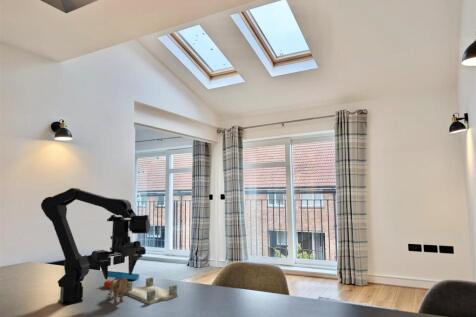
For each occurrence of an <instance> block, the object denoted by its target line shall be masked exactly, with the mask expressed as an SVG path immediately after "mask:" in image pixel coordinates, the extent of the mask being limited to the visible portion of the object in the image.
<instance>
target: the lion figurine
mask: <svg viewBox="0 0 476 317" xmlns="http://www.w3.org/2000/svg"><path fill="white" fill-rule="evenodd" d="M111 281H112V280H111ZM130 282H131V281H129V280H128V279H127V278H121V279H119V280H114V279H113V281H112V282H111V283H110V289H109V293H108V294H107V295H108V298H107V301H111V300H112V293H113V304H112V305H118V301H117V299H118V298H117V297H118V296H120V298H119V302H120V303H124V302H125V301H124V299H123V297H124V295H125V294H124V292H126V290H127V288H128V289H129V288H130V286H131V283H130Z"/></svg>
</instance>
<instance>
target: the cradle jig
mask: <svg viewBox="0 0 476 317" xmlns="http://www.w3.org/2000/svg"><path fill="white" fill-rule="evenodd" d="M129 282H130V283H131V286H130V288H129V289H128V288H127V290H126V292H124V294H123V295H127V296H129V297H131V298H134V299H135V300H136V299H137V300H138V301H141V302H144V303H146V304H148V305H152V304H154V303H158V302H162V301H163V302H164V301H166V300H170V299H173V298H177V297H178V285H177V284H171V285H168V289H165V288H163V287H159V286H156V285H154V277H152V276H151V277H146V278H145V285H141V286H139V287H133V282H132V281H129Z"/></svg>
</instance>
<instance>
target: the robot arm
mask: <svg viewBox="0 0 476 317" xmlns="http://www.w3.org/2000/svg"><path fill="white" fill-rule="evenodd" d="M75 201H80V202H83V203H87V204H90V205H94V206H96V207H101V208H103V209H105V210H106V211H107V212H110V213H112V214H111V215H110V217H108V218H107V219H106V221H107V222H112V230H111V232H112V233H111V236H110V240H111V247H109V251H108V250H105V249H98V250H93V251H91V254H90V260H93V261H94V262H96V263H98V265H99V267H100V269H101V272H102V274H103V277H104V279H105V280H108V279H109V277H108V271H109V264H110V260H108V259H109V258H110V257H115V256H116V257H117V256H121V257H124V258H127V257H128V259H127V261H128V264H127V265H128V266H127V267H128V273H129V275H131V274H132V273H133V271H134V268H135V266H136V264H137V262H138V261H139V259H140V258H142V257H143V255H146V252H147V250H146V247H145V246H143V245H141V241H140V240H134V241H131V236H130V234H129V232H131V233H132V234H149V233H150V230H151V228H150V227H151V223H150V217H149V214H144V215H138V214H136V213H135V211H134V210H133V208H132V204H131V201H129V200H128V199H124V198H123V199H122V198H113V197H112V198H111V197H106V196H104V195H99V194H97V193H94V192H93V193H92V192H89V191H85V190H82V189H80V188H76V187H71V188H68V189H67V190H65V191H63V192H60V193H57V194H55V195H53V196H47V197H45V198H44V199H43V200H42V202H41V203H40V208H41V210H42V212H43V213H44V215H45V216H46V217H47V219H48V220H50V221H51V223H52V226H53V228H54V231H55V233H56V238H57V240H58V242H59V245H60V248H61V251H62V253H63V257H64V266H63V269H64V273H65V274H64V275H63V276H62V277H61V278H59V280H57V284H58V287H59V288H60V289H59V290H60V291H59V292H60V293H59V294H60V295H59V299H58V300H57V302H58V303H60V304H61V305H62V306H67V305H71V304H76V303H81V302H83V301H84V299H83V297H84V286H83V283H82V282H83V281H84V279H85V277H86V276H88V274H89V272H90V267H91V264H90V262H89V258H88V256H87V254H85V255H83V256H82V254H81V253H80V252H79V250H78V246H77V245H76V241H75V238H74V236H73V233H72V231H71V226H70V225H69V224H70V223H69V222H68V219H67V213H68V212H67V211H68V207H67V206H69V205H70V204H72V203H73V202H75Z"/></svg>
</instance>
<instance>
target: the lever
mask: <svg viewBox="0 0 476 317" xmlns="http://www.w3.org/2000/svg"><path fill="white" fill-rule="evenodd" d="M108 278H113V280H119V279H121V278H127V280H137V281H138V280H139V279H140V274H139V273H133V272H132V274H131V275H129V272H123V271H112V270H108ZM113 280H108V279H107V280H105V281H104V283H103V288H104V289H106V290H110V283H111V282H112V281H113Z"/></svg>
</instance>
